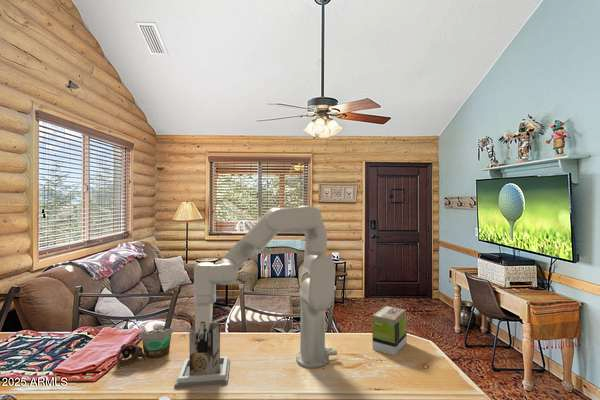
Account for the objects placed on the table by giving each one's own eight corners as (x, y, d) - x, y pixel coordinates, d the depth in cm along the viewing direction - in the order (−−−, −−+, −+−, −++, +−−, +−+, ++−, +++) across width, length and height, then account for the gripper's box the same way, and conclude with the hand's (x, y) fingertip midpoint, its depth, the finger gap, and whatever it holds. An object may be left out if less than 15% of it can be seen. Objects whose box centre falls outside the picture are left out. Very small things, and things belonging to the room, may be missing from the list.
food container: (140, 363, 121) (140, 336, 122) (139, 356, 127) (139, 330, 127) (174, 356, 127) (175, 330, 127) (173, 349, 133) (173, 325, 133)
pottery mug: (152, 362, 123) (145, 348, 119) (128, 382, 117) (121, 368, 113) (134, 346, 130) (128, 333, 126) (111, 364, 123) (104, 351, 119)
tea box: (384, 337, 146) (385, 304, 146) (407, 343, 140) (407, 309, 140) (371, 349, 134) (371, 314, 134) (395, 356, 128) (395, 319, 128)
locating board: (229, 361, 123) (229, 354, 123) (227, 383, 108) (227, 376, 108) (183, 364, 121) (183, 358, 121) (174, 387, 106) (174, 380, 106)
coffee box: (220, 367, 117) (221, 323, 117) (213, 377, 110) (213, 330, 110) (197, 365, 118) (197, 321, 118) (188, 374, 112) (188, 328, 112)
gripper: (197, 291, 122) (197, 336, 122) (189, 306, 105) (189, 358, 105) (218, 290, 124) (217, 335, 124) (213, 305, 107) (212, 357, 107)
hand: (204, 346), depth 114 cm, fingers open, 9 cm apart
